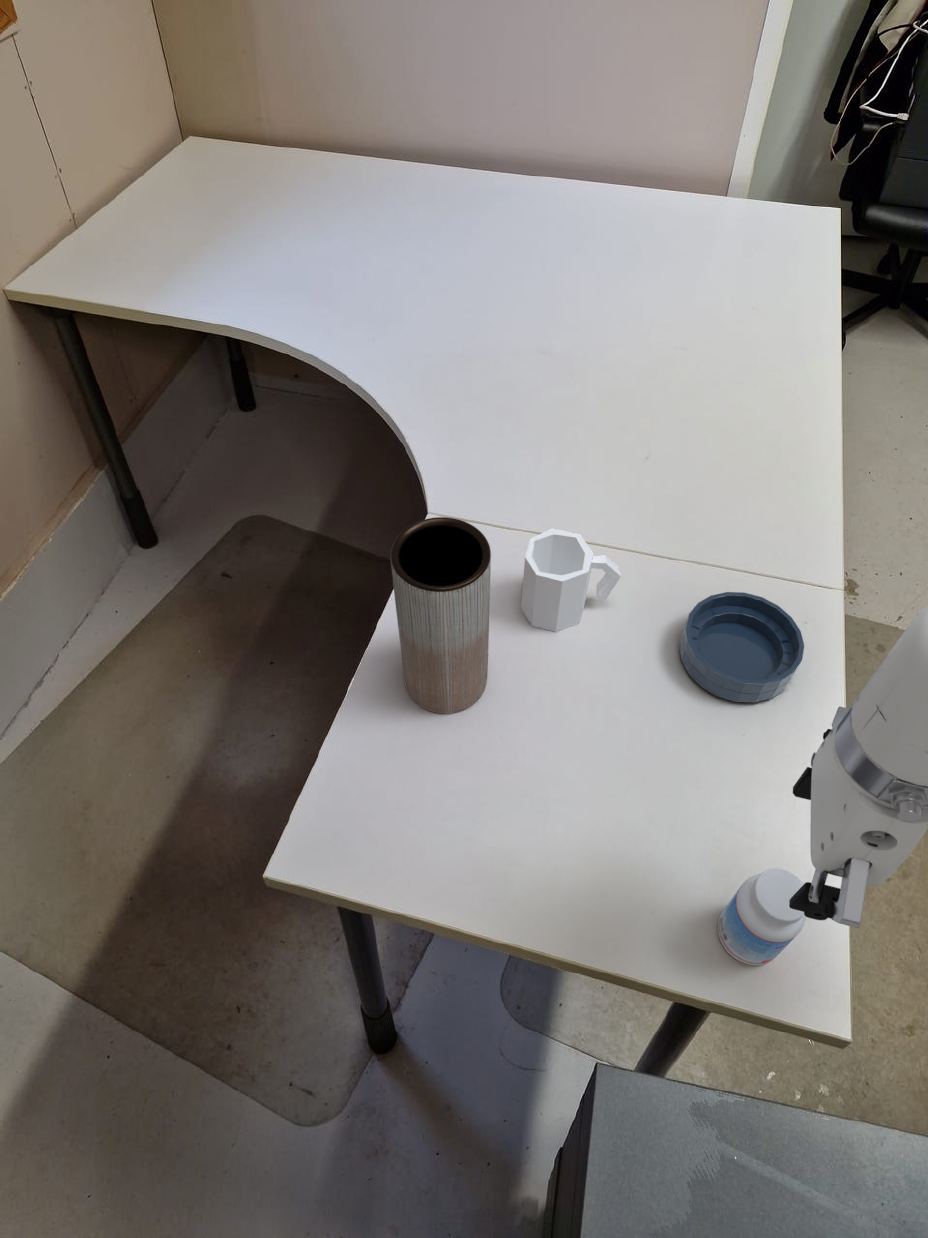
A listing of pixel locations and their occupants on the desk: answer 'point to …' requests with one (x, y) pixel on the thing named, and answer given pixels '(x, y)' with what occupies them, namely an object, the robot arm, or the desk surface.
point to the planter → (443, 611)
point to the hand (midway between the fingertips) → (810, 850)
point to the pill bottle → (761, 917)
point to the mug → (561, 579)
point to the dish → (741, 647)
